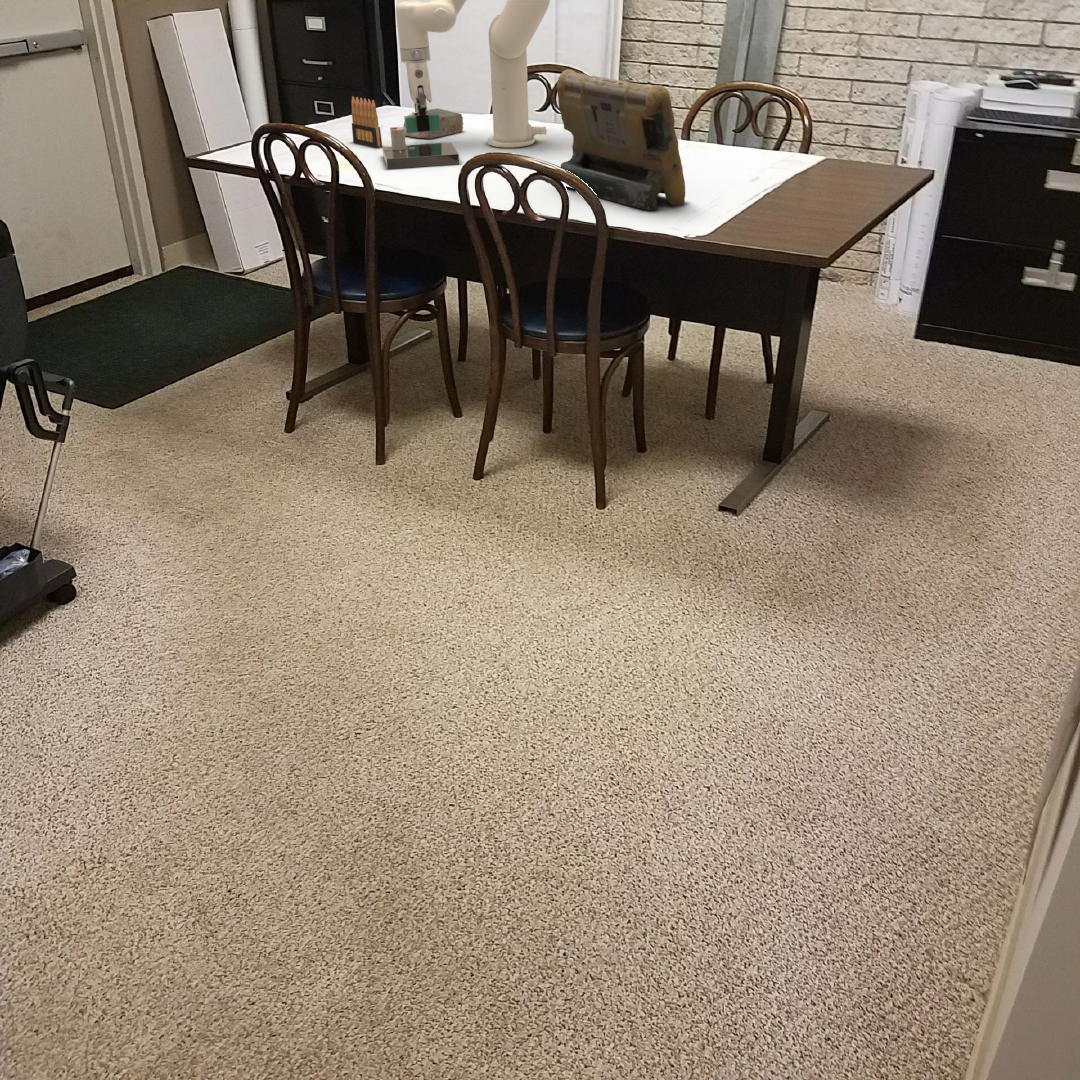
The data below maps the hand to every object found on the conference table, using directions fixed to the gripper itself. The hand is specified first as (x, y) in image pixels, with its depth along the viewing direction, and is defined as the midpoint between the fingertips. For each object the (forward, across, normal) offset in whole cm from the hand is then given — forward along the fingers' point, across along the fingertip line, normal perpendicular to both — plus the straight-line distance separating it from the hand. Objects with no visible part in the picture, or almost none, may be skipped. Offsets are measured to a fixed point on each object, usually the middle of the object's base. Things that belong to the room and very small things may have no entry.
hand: (423, 129), depth 283 cm
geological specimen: (+5, +16, -4) cm, 17 cm away
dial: (+2, -13, +8) cm, 15 cm away
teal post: (0, 0, +2) cm, 2 cm away
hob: (+5, -16, +3) cm, 17 cm away
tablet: (+6, -63, -37) cm, 73 cm away
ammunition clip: (+4, +7, +15) cm, 17 cm away
